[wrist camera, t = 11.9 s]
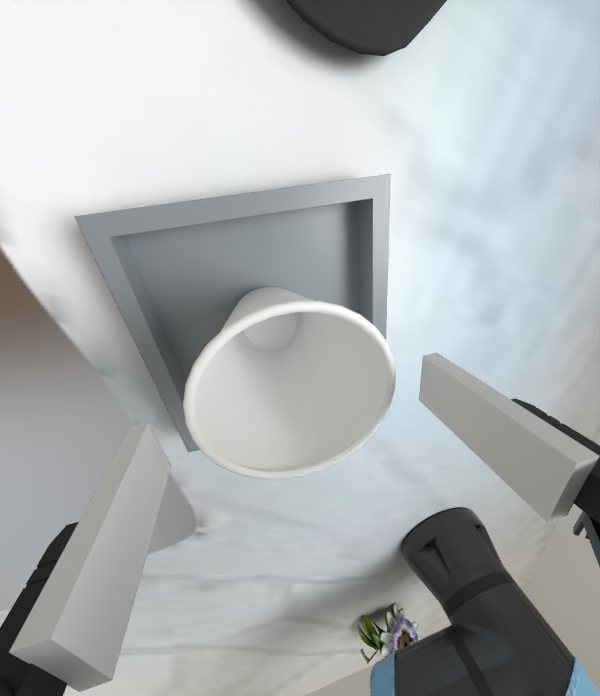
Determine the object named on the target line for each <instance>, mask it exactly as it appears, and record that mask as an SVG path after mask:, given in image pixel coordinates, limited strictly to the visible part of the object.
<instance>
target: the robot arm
mask: <svg viewBox="0 0 600 696" xmlns="http://www.w3.org/2000/svg"><path fill="white" fill-rule="evenodd" d="M419 400H420V401H421V402H422V403H423V404H424V405H425V406H426V407H427V408H428V409H429V410H430V411H431V412H432V413H433V414H434V415H435V416H436V417H437V418H439V419H440V420H441V421H442V422H443V423H444V424H445V425H446V426H447V427H448V428H449V429H450V430H451V431H452V432H453V433H454V434H455V435H456V436H457V437H458V438H459V439H461V440H462V441H463V442H464V443H465V444H466V445H467V446H468V447H469V448H470V449H471V450H472V451H473V452H474V453H475V454H476V455H477V456H478V457H479V458H480V459H481V460H483V461H484V462H485V463H486V464H487V465H488V466H489V467H490V468H491V469H492V470H493V471H494V472H495V473H496V474H497V475H498V476H499V477H500V478H501V479H502V480H503V481H504V482H506V483H507V484H508V485H509V486H510V487H511V488H512V489H513V490H514V491H515V492H516V493H517V494H518V495H519V496H520V497H521V498H522V499H523V500H524V501H525V502H526V503H528V504H529V505H530V506H531V507H532V508H533V509H534V510H535V511H536V512H537V513H538V514H539V515H540V516H541V517H542V518H543V519H544V520H545V521H546V522H550V521H553V520H555V519H558V518H561V517H563V516H566V515H568V513H569V511H570V509H571V507H572V505H573V504H576V505H577V506H578V507H579V508H580V509H582V510H583V512H582V514H581V515H580V517H579V519H578V521H577V522H576V524H575V526H574V527H573V532H574V534H575V535H579V534H580V532H581V531H582V529H583V528H584V527H585V530H586V532H587V534H586V536H585V538H587V539H589V540H590V543H591V545H592V548H593V551H594V553H595V556H596V558H597V561H598V564H599V566H600V446H599V445H598V444H596V443H594V442H593V441H591V440H589V439H588V438H586V437H584V436H583V435H581V434H579V433H578V432H576V431H574V430H573V429H571V428H570V427H568V426H566V425H565V424H563V423H562V424H561V423H560V421H558V420H556V419H555V418H553V417H551V416H548V415H547V414H546V413H545V412H543V411H541V410H540V409H538V408H536V407H535V406H533V405H531V404H528V403H526V402H523V401H521V400H518V399H511V400H510V399H509V398H507V397H506V396H504V395H503V394H501V393H499V392H498V391H496V390H495V389H493V388H492V387H490V386H488V385H487V384H485V383H484V382H482V381H480V380H479V379H477V378H476V377H474V376H473V375H471V374H469V373H468V372H466V371H465V370H463V369H462V368H460V367H458V366H457V365H455V364H454V363H452V362H450V361H449V360H447V359H446V358H444V357H443V356H441V355H439V354H438V353H433V354H429V355H425V356H423V361H422V372H421V383H420V394H419ZM170 469H171V464H170V462H169V460H168V458H167V456H166V455H165V453H164V451H163V449H162V447H161V445H160V443H159V441H158V439H157V437H156V436H155V434H154V432H153V430H152V428H151V426H150V424H149V422H148V423H144V424H140V425H136V426H132V427H130V428H129V430H128V432H127V433H126V435H125V437H124V439H123V441H122V443H121V444H120V446H119V448H118V450H117V452H116V454H115V456H114V458H113V459H112V461H111V463H110V465H109V467H108V469H107V471H106V473H105V475H104V476H103V478H102V480H101V482H100V484H99V485H98V487H97V489H96V491H95V493H94V495H93V497H92V499H91V500H90V502H89V504H88V506H87V508H86V510H85V512H84V513H83V515H82V517H81V519H80V521H79V522H76V523H73V524H69V525H67V526H66V527H65V528H64V529H63V530H62V531H61V532H60V533H59V535H58V536H57V537H56V538H55V539H54V540H53V541H52V542H51V544H50V545H49V546H48V548H47V550H46V552H45V553H44V555H43V556H42V558H41V560H40V561H39V563H38V565H37V569H36V570H34V572H33V573H32V575H31V577H30V578H29V580H28V582H27V583H26V584H27V586H26V588H24V589H23V590H22V592H21V594H20V595H19V597H18V599H17V601H16V602H15V604H14V605H13V607H12V609H11V611H10V612H9V614H8V616H7V617H6V619H5V621H4V622H3V624H2V626H1V627H0V696H63V694H64V691H65V689H66V686H67V685H68V686H70V687H72V688H73V689H75V690H77V691H79V692H80V691H83V690H86V689H89V688H91V687H94V686H97V685H100V684H102V683H105V682H108V681H111V680H112V679H113V675H114V671H115V668H116V664H117V661H118V657H119V653H120V650H121V646H122V642H123V639H124V635H125V632H126V628H127V624H128V621H129V617H130V614H131V610H132V606H133V603H134V599H135V595H136V592H137V588H138V585H139V581H140V577H141V574H142V570H143V567H144V563H145V559H146V556H147V552H148V548H149V545H150V541H151V538H152V534H153V530H154V527H155V523H156V520H157V516H158V512H159V509H160V505H161V501H162V498H163V494H164V490H165V487H166V483H167V479H168V476H169V472H170ZM402 553H403V555H404V557H405V559H406V561H407V563H408V565H409V566H410V568H411V569H412V570H413V571H414V573H415V574H416V575H417V576H418V577H419V579H420V580H421V581H422V582H423V583H424V584H425V586H426V587H427V588H428V589H429V590H430V591H431V593H432V594H433V595H434V596H435V597H436V599H437V600H438V601H439V602H440V604H441V606H442V607H443V609H444V611H445V613H446V615H447V617H448V618H449V620H450V622H451V624H452V625H451V626H449V627H447V628H444V629H442V630H440V631H438V632H436V633H434V634H432V635H429V636H427V637H425V638H423V639H421V640H419V641H417V642H415V643H413V644H411V645H409V646H406V647H404V648H402V649H400V650H397V649H396V650H393V652H392V654H390V655H388V656H387V657H385V658H383V659H382V660H380V661H378V662H376V663H375V665H374V666H373V668H372V671H371V675H370V693H371V696H600V692H599V691H598V689H597V688H596V686H595V685H594V684H593V682H592V681H591V680H590V679H589V677H588V676H587V674H586V673H585V671H584V670H583V669H582V667H581V665H580V662H579V661H578V660H577V659H576V657H574V656H573V655H572V654H571V653H570V652H569V650H568V649H567V647H566V646H565V645H564V644H563V642H562V641H561V640H560V638H559V637H558V636H557V635H556V633H555V632H554V631H553V630H552V628H551V627H550V626H549V624H548V623H547V622H546V621H545V619H544V618H543V617H542V615H541V614H540V613H539V612H538V610H537V609H536V608H535V607H534V605H533V604H532V603H531V601H530V600H529V599H528V598H527V596H526V595H525V594H524V593H523V591H522V590H521V589H520V587H519V586H518V585H517V583H516V582H515V581H514V580H513V578H512V577H511V576H510V574H509V573H508V572H507V570H506V569H505V568H504V566H503V564H502V562H501V560H500V558H499V556H498V554H497V552H496V550H495V547H494V545H493V543H492V541H491V539H490V537H489V535H488V533H487V531H486V528H485V526H484V525H483V523H482V522H481V521H480V519H479V518H478V517H477V516H476V514H475V513H474V512H473V511H472V510H470V509H466V508H457V509H451V510H447V511H444V512H442V513H439V514H437V515H435V516H433V517H431V518H429V519H427V520H426V521H424V522H423V523H421V524H420V525H419V526H417V527H416V528H415V529H414V530H413V531H412V532H411V533H410V534H409V535H408V536H407V538H406V539H405V541H404V543H403V546H402Z"/></svg>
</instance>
